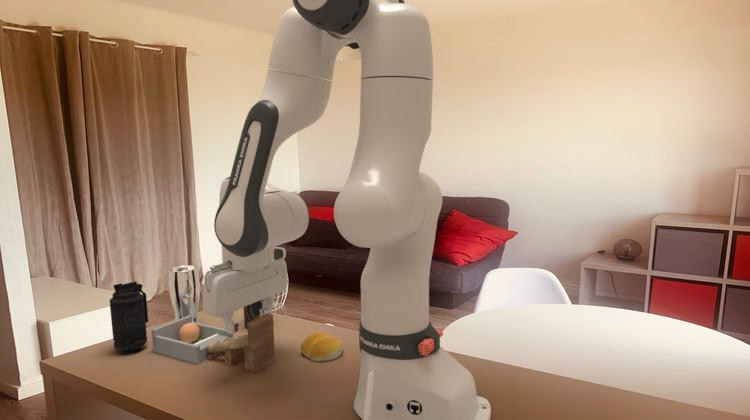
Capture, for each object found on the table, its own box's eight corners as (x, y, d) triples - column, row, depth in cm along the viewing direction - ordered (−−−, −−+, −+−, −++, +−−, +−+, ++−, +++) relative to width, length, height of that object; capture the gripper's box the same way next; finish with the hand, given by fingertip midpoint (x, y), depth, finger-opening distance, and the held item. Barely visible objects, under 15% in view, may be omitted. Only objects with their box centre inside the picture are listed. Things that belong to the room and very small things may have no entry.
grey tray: (234, 346, 109) (232, 324, 108) (197, 364, 100) (196, 340, 100) (190, 335, 115) (189, 315, 115) (153, 351, 107) (151, 329, 106)
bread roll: (319, 366, 99) (319, 347, 98) (295, 353, 105) (294, 335, 105) (352, 354, 104) (351, 336, 103) (326, 342, 111) (326, 325, 110)
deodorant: (262, 330, 118) (259, 269, 116) (240, 329, 119) (236, 268, 117) (273, 322, 123) (270, 263, 122) (251, 320, 125) (248, 262, 123)
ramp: (275, 361, 101) (272, 314, 99) (254, 373, 96) (251, 323, 94) (225, 349, 107) (222, 304, 106) (203, 359, 102) (200, 313, 101)
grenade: (123, 358, 104) (117, 288, 102) (108, 351, 108) (102, 284, 106) (156, 347, 109) (150, 280, 107) (140, 340, 113) (135, 276, 111)
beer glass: (165, 332, 118) (160, 271, 116) (184, 322, 125) (180, 264, 123) (190, 335, 116) (186, 272, 114) (208, 324, 123) (204, 265, 121)
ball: (185, 316, 111) (185, 329, 114) (174, 331, 108) (175, 343, 110) (203, 322, 111) (203, 334, 114) (193, 337, 108) (194, 349, 110)
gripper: (217, 270, 86) (222, 346, 88) (291, 247, 104) (293, 311, 106) (192, 266, 89) (197, 340, 91) (268, 245, 107) (271, 307, 109)
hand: (249, 324), depth 99 cm, fingers open, 8 cm apart
